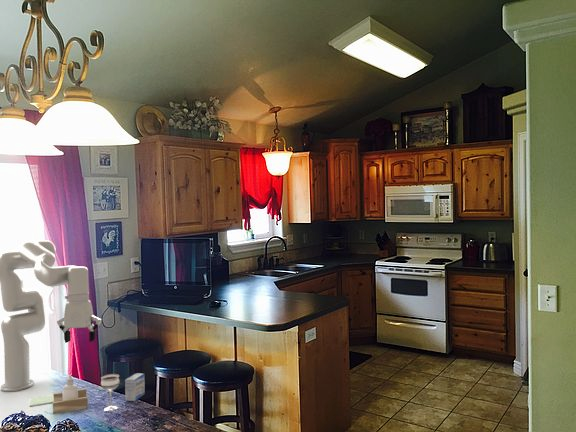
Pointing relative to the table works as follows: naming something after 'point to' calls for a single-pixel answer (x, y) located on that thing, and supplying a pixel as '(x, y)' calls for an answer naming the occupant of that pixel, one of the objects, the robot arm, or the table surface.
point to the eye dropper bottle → (70, 390)
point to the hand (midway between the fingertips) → (79, 341)
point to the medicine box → (134, 387)
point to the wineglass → (110, 387)
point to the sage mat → (42, 400)
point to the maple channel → (70, 402)
